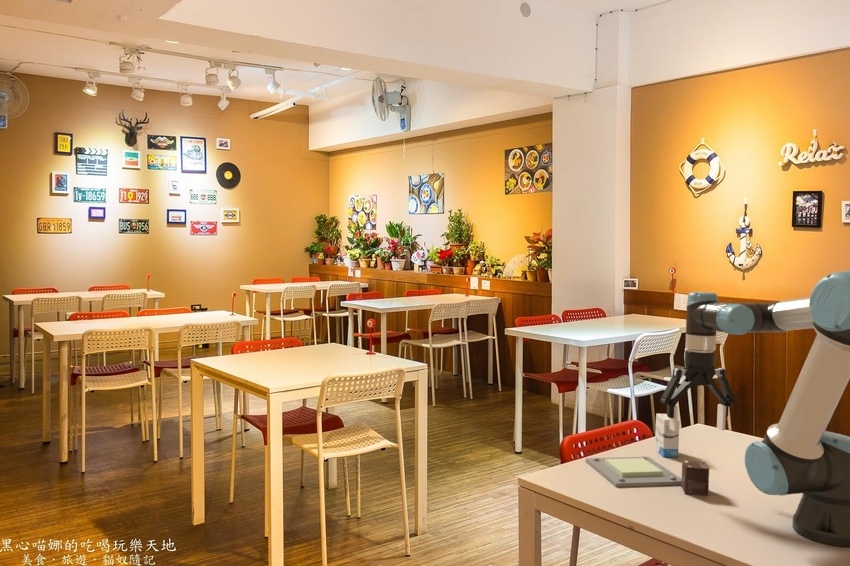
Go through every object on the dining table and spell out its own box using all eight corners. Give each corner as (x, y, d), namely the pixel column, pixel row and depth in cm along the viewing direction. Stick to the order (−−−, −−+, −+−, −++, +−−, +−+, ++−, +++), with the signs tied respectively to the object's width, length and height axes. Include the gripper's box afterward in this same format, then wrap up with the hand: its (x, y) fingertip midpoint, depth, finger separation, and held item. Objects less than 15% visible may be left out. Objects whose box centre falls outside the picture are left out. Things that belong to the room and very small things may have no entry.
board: (684, 484, 194) (685, 476, 194) (615, 486, 191) (616, 479, 191) (648, 459, 215) (648, 452, 215) (585, 461, 212) (585, 454, 212)
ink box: (678, 457, 218) (680, 420, 218) (662, 457, 218) (664, 419, 218) (669, 449, 227) (671, 413, 226) (654, 449, 227) (655, 413, 226)
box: (708, 496, 185) (709, 468, 185) (684, 494, 186) (685, 467, 186) (704, 488, 191) (705, 461, 191) (680, 486, 192) (681, 460, 192)
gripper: (735, 348, 192) (732, 425, 194) (649, 348, 189) (646, 426, 190) (752, 352, 185) (748, 432, 186) (662, 352, 181) (659, 434, 183)
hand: (697, 429), depth 188 cm, fingers open, 13 cm apart
